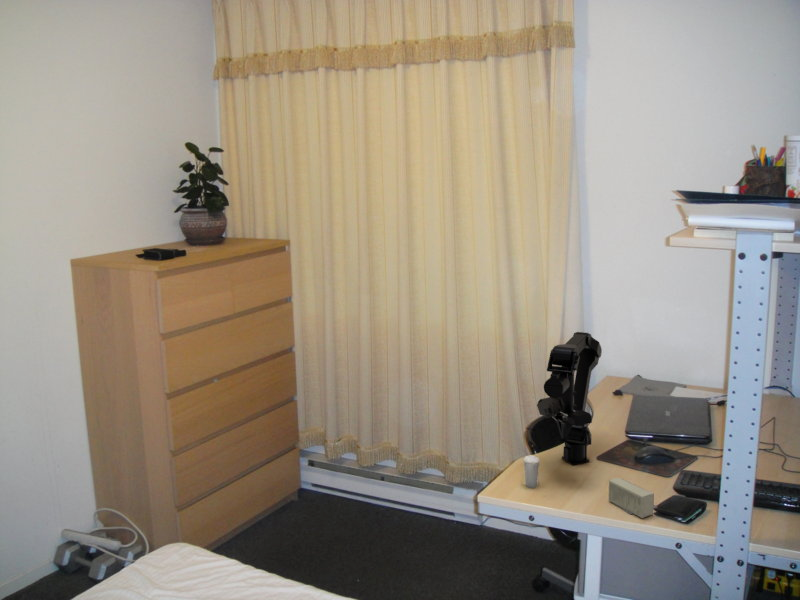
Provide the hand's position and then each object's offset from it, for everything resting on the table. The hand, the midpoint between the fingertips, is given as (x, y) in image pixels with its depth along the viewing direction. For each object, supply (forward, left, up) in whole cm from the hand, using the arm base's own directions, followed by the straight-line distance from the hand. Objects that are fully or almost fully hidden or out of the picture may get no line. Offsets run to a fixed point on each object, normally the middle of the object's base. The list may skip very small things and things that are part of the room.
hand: (563, 438), depth 209 cm
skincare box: (-3, +19, -8) cm, 21 cm away
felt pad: (-7, +24, -12) cm, 28 cm away
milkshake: (+12, +2, -12) cm, 17 cm away
